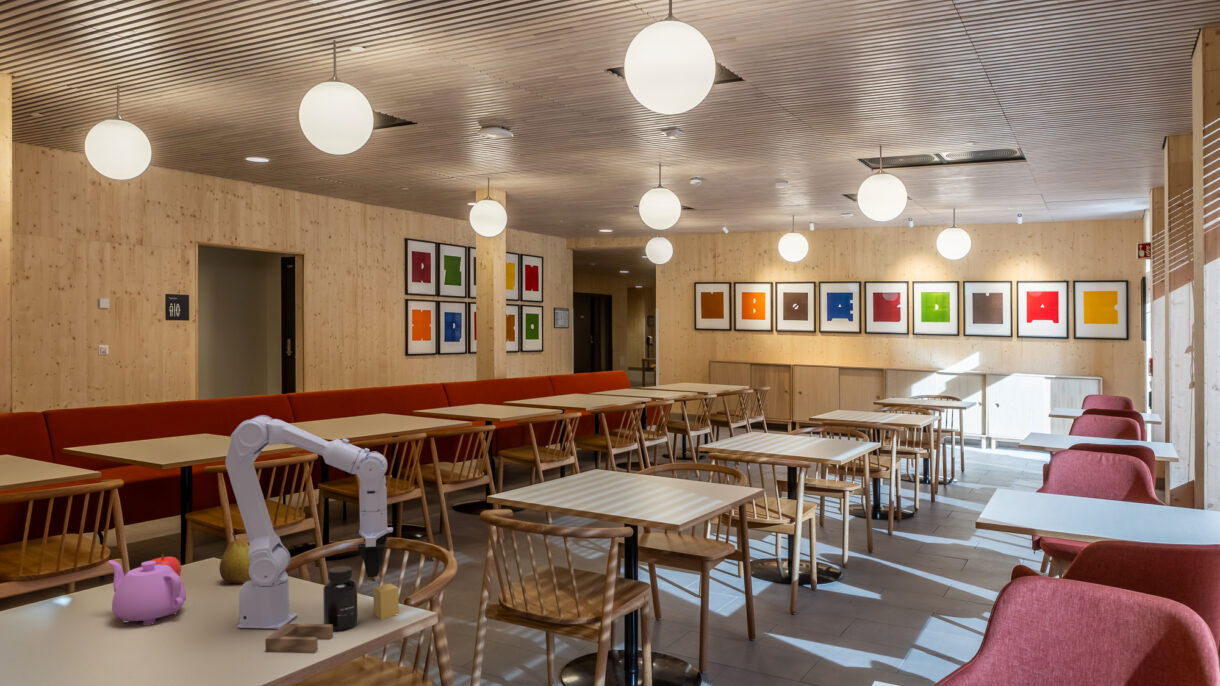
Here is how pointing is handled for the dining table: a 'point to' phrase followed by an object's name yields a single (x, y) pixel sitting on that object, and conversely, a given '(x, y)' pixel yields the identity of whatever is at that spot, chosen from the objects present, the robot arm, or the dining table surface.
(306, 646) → the wooden u-shaped bracket
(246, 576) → the fruit
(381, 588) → the block
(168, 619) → the dining table surface
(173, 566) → the apple
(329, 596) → the supplement bottle
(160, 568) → the teapot
